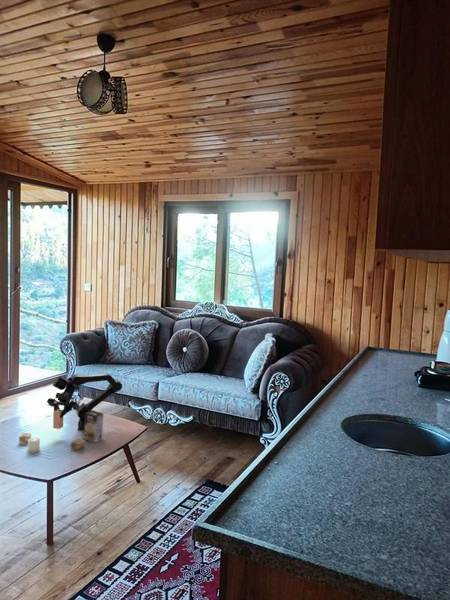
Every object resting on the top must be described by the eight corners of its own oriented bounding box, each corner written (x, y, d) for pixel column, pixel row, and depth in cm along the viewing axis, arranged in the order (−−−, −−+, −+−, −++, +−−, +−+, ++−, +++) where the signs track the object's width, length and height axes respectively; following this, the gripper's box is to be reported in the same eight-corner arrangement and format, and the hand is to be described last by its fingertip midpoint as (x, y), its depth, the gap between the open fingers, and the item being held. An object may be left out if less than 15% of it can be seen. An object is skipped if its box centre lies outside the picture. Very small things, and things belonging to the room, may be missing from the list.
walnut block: (84, 448, 251) (84, 441, 251) (77, 452, 247) (78, 444, 247) (77, 446, 254) (77, 439, 253) (70, 450, 249) (71, 442, 249)
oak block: (30, 440, 258) (30, 433, 257) (28, 444, 253) (28, 436, 252) (21, 440, 257) (21, 433, 256) (18, 444, 252) (19, 436, 252)
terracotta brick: (63, 426, 265) (63, 408, 264) (59, 429, 261) (59, 411, 260) (57, 425, 266) (57, 408, 265) (53, 428, 262) (53, 410, 261)
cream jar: (41, 448, 248) (41, 438, 247) (36, 453, 242) (36, 442, 241) (31, 447, 248) (31, 437, 248) (25, 452, 242) (25, 441, 242)
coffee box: (83, 439, 264) (84, 412, 262) (90, 435, 270) (91, 409, 268) (95, 442, 260) (96, 416, 259) (102, 439, 266) (103, 413, 264)
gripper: (49, 385, 267) (37, 408, 258) (77, 388, 263) (66, 413, 254) (56, 394, 276) (45, 417, 266) (83, 398, 272) (73, 421, 262)
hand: (57, 417), depth 262 cm, fingers closed on terracotta brick, 4 cm apart
